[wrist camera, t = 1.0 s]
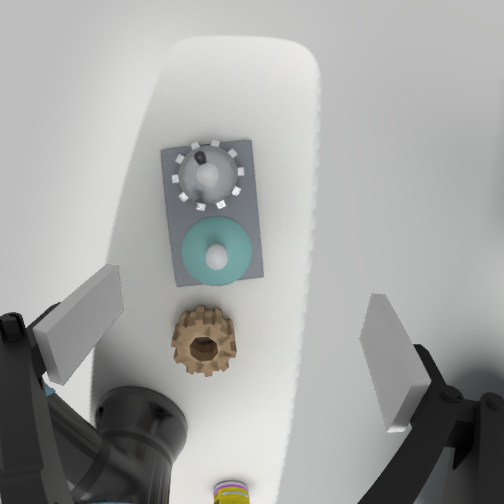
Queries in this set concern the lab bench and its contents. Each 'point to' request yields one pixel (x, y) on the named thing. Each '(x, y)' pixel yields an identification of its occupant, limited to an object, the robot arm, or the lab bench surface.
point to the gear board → (214, 224)
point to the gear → (216, 190)
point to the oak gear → (204, 354)
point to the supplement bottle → (231, 493)
